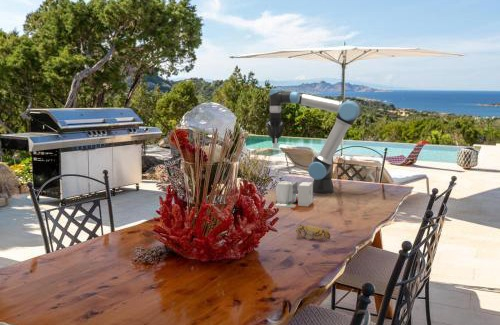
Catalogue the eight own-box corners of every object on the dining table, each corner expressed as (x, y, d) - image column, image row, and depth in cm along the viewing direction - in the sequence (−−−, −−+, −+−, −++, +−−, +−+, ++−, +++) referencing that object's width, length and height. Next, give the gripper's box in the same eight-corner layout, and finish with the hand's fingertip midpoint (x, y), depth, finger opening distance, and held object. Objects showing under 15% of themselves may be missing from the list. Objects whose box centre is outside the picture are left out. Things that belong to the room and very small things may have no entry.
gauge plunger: (286, 206, 267) (286, 186, 265) (294, 200, 283) (294, 181, 282) (303, 207, 263) (304, 187, 262) (310, 201, 280) (310, 182, 278)
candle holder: (292, 204, 274) (292, 184, 273) (275, 204, 275) (275, 184, 273) (291, 200, 284) (291, 181, 282) (275, 200, 284) (275, 181, 283)
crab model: (334, 236, 210) (335, 224, 209) (326, 243, 199) (326, 231, 198) (302, 231, 217) (302, 220, 216) (292, 238, 206) (292, 226, 205)
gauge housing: (275, 206, 268) (275, 186, 266) (283, 200, 285) (283, 180, 284) (305, 208, 262) (306, 187, 260) (312, 202, 279) (312, 182, 278)
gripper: (281, 112, 311) (280, 147, 314) (263, 112, 305) (263, 148, 308) (286, 112, 304) (286, 148, 307) (269, 112, 298) (269, 149, 301)
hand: (275, 148), depth 308 cm, fingers closed
